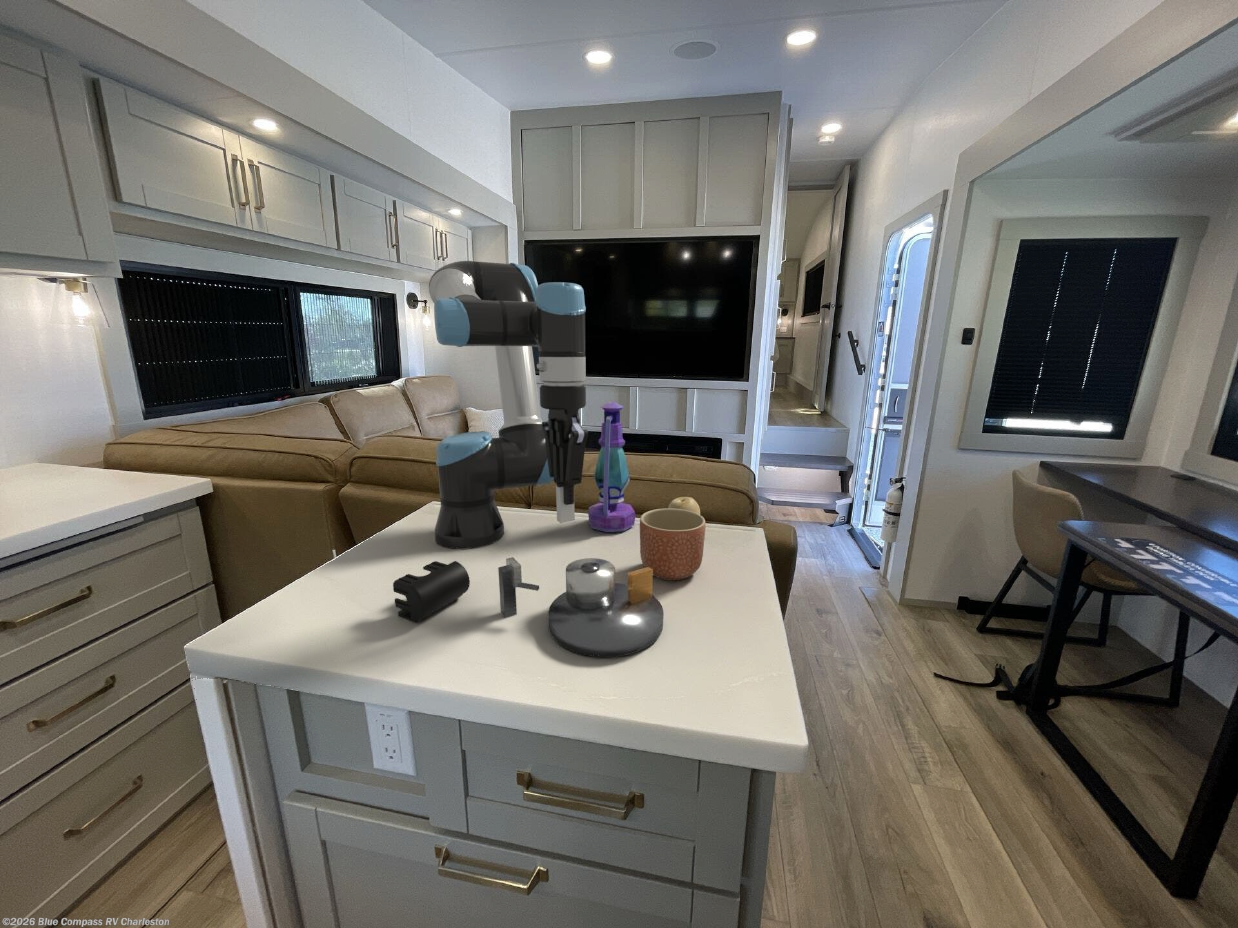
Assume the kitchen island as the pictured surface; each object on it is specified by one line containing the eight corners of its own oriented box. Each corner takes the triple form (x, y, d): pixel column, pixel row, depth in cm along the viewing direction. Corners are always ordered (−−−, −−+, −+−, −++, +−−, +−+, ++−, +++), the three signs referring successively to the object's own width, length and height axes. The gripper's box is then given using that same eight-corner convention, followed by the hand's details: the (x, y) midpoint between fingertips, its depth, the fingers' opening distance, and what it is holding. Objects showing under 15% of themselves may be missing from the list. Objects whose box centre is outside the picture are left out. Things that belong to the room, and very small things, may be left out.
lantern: (594, 514, 126) (594, 397, 119) (639, 517, 124) (641, 399, 117) (580, 533, 114) (579, 404, 106) (630, 537, 111) (632, 406, 104)
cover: (558, 592, 82) (557, 562, 81) (599, 580, 86) (599, 552, 85) (580, 614, 76) (580, 582, 74) (624, 600, 80) (624, 570, 78)
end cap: (425, 629, 76) (421, 589, 74) (394, 617, 79) (389, 579, 77) (471, 600, 84) (469, 564, 83) (442, 590, 87) (439, 555, 86)
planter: (686, 593, 87) (689, 536, 84) (626, 576, 93) (627, 522, 91) (712, 567, 97) (715, 515, 94) (657, 553, 103) (658, 504, 101)
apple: (708, 527, 117) (698, 505, 113) (677, 540, 118) (666, 518, 114) (699, 507, 123) (690, 485, 119) (670, 519, 124) (659, 498, 120)
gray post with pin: (499, 609, 81) (496, 560, 79) (526, 602, 84) (524, 554, 81) (512, 628, 76) (510, 576, 74) (541, 619, 78) (539, 569, 76)
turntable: (530, 611, 80) (529, 572, 78) (623, 583, 89) (623, 548, 88) (582, 672, 65) (582, 626, 64) (686, 632, 75) (688, 590, 73)
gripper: (525, 382, 83) (531, 513, 89) (559, 387, 73) (562, 536, 78) (565, 380, 87) (568, 506, 93) (602, 385, 77) (603, 527, 82)
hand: (565, 520), depth 85 cm, fingers closed
